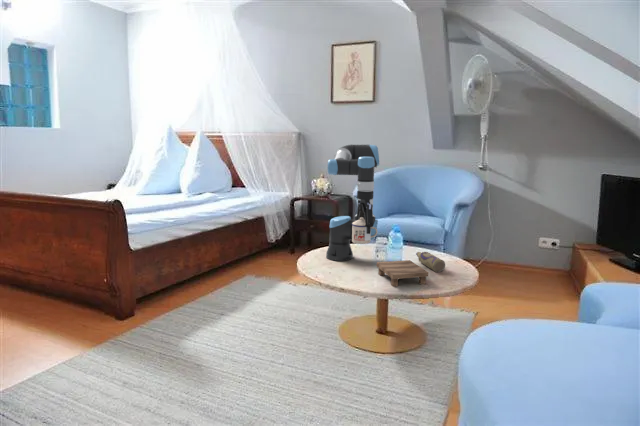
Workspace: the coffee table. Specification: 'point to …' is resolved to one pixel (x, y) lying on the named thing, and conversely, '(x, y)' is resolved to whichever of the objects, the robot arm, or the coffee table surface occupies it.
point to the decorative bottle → (431, 261)
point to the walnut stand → (402, 271)
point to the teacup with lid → (360, 232)
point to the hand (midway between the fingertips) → (364, 237)
